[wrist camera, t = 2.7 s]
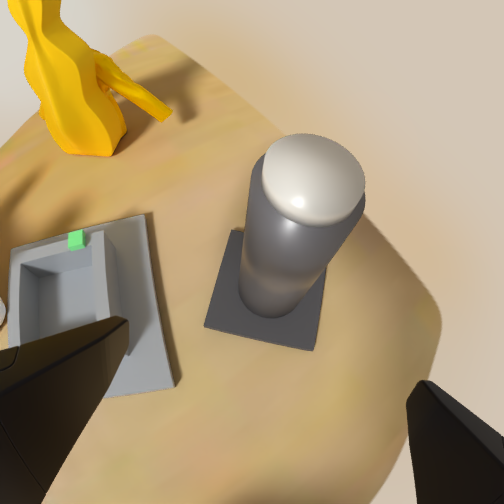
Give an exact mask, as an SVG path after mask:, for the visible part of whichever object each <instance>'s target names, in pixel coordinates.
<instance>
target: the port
mask: <svg viewBox="0 0 504 504" xmlns="http://www.w3.org/2000/svg"><path fill="white" fill-rule="evenodd" d="M115 315H117V316H120V317H123V318H126V319H128V321H129V346H128V349H127V351H126V353H125V355H124V357H123V360H122V362H121V364H120V366H119V368H118V370H117V372H116V374H115V376H114V378H113V381H112V383H111V385H110V387H109V389H108V390H107V392H106V394H105V395H104V397H103V398H110V397H118V396H126V395H133V394H140V393H146V392H152V391H158V390H164V389H170V388H175V383H174V379H173V375H172V371H171V366H170V362H169V357H168V353H167V348H166V343H165V338H164V333H163V328H162V323H161V318H160V312H159V307H158V301H157V295H156V289H155V283H154V277H153V270H152V263H151V256H150V248H149V240H148V232H147V223H146V218H145V215H144V214H142V215H138V216H133V217H129V218H125V219H121V220H116V221H112V222H108V223H104V224H100V225H96V226H92V227H88V228H84V229H80V230H76V231H72V232H69V233H65V234H61V235H58V236H54V237H50V238H47V239H43V240H40V241H36V242H33V243H29V244H26V245H22V246H19V247H16V248H12V249H11V254H10V265H9V279H8V345H9V348H11V347H14V346H20V345H21V344H25V343H28V342H31V341H35V340H38V339H41V338H44V337H48V336H51V335H54V334H57V333H61V332H64V331H67V330H70V329H74V328H77V327H80V326H83V325H86V324H89V323H93V322H96V321H99V320H102V319H105V318H108V317H112V316H115Z"/></svg>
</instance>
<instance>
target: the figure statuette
mask: <svg viewBox="0 0 504 504" xmlns="http://www.w3.org/2000/svg"><path fill="white" fill-rule="evenodd" d="M7 1H8V8H9V10H10V13H11V15H12V17H13V18H14V20H15V21H16V22H17V24H18V25H19V26H20V27H21V29H22V30H23V31H24V32H25V34H26V35H27V38H28V47H27V53H26V59H25V64H24V74H25V77H26V79H27V81H28V83H29V85H30V86H31V88H32V89H33V90H34V92H35V93H36V95H37V96H38V98H39V99H40V101H41V104H40V109H39V115H40V117H41V118H42V119H43V120H46V124H47V127H48V129H49V132H50V134H51V135H52V137H53V139H54V140H55V142H56V143H57V144H58V145H59V147H60V148H61V149H62V150H63V151H64V152H66V153H68V154H79V155H95V156H111V155H112V154H113V152H114V150H115V148H116V146H117V144H118V142H119V140H120V139H121V137H122V136H123V135H124V134H125V133H126V132H127V129H126V125H125V121H124V118H123V115H122V112H121V110H120V108H119V106H118V104H117V102H116V101H115V99H114V97H113V95H112V93H111V91H110V88H111V89H113V90H114V91H116V92H117V93H119V94H120V95H122V96H123V97H125V98H127V99H128V100H130V101H131V102H133V103H134V104H136V105H137V106H138V107H140V108H141V109H143V110H144V111H146V112H147V113H149V114H150V115H152V116H153V117H154V118H156V119H157V120H158V121H160V122H163V121H164V120H165V119H166V118H168V117H169V116H170V115H171V114H172V112H173V110H172V109H170V108H169V107H168V106H166V105H165V104H164V103H163V102H161V101H160V100H159V99H158V98H156V97H155V96H154V95H153V94H151V93H150V92H149V91H147V90H146V89H145V88H143V87H142V86H141V85H139V84H137V83H134V81H133V80H132V79H131V78H130V77H129V76H128V75H127V74H125V73H123V72H122V71H121V69H120V68H119V67H118V66H117V65H116V64H115V63H114V62H113V60H112V59H111V58H110V57H108V56H107V55H105V54H102V53H100V52H99V51H97V50H94V49H91V48H90V47H89V46H88V45H87V44H86V42H84V41H83V40H82V39H81V38H80V37H79V36H77V35H76V34H75V33H74V32H72V31H71V30H70V29H69V28H68V27H67V26H66V25H65V24H64V23H63V22H62V20H61V18H60V5H61V0H7Z"/></svg>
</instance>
